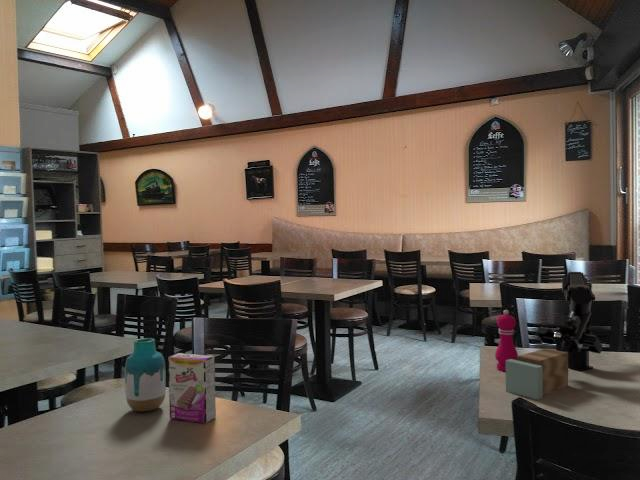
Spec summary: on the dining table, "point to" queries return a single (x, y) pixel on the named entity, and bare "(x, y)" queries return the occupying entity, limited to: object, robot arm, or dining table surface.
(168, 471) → the dining table surface
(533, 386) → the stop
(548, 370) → the wooden block
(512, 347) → the pepper mill
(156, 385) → the vase
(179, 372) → the candy bar box
